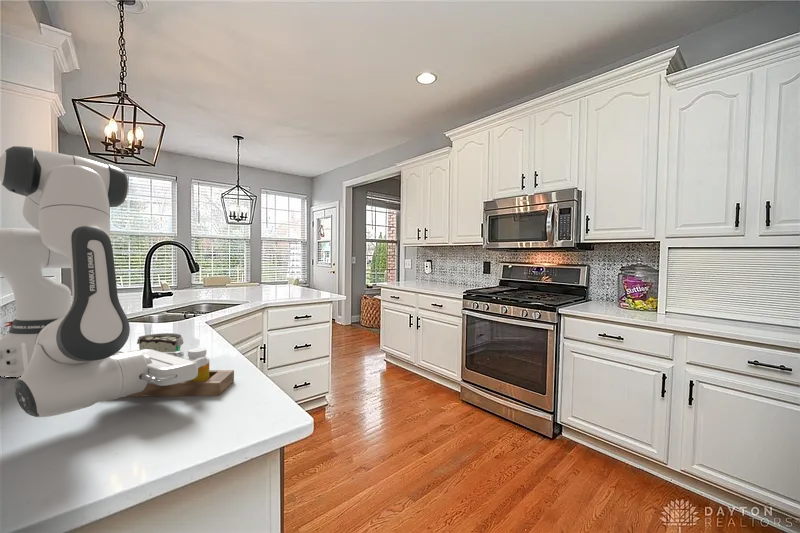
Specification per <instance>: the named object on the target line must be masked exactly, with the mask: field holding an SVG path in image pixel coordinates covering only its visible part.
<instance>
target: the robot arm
mask: <svg viewBox="0 0 800 533" xmlns="http://www.w3.org/2000/svg"><path fill="white" fill-rule="evenodd" d="M0 181H1V185H2V186H3V187H4V188H5V189H6V190H7V191H9V192H11V193H13V194H18V195H20V196H23V197H24V196H25V197H24V202H23V205H22V216H23V218H24V219H25V221H26V222H27V223H28V224H29V225H31V226H32V227H33V228H26V227H10V226H9V227H0V276H2V278H4V279H5V280H6V282H8V284H9V285H10V287H11V289H12V292H13V296H14V303H15V304H14V305H15V318H14V319H13V320H12V321H7V322H4V323H3V324H5V325H4V327H5V328H6V327H10V328H9V329H8V331H7V332H8V333H6V334H5V335H3V336H1V337H0V376H9V377H16V378H18V379H16V381H15V385H14V389H15V391H14V393H15V398H16V400H17V403H18V405H19V406H20V408H21V409H22V410H23V411H24V413H26V414H28V415H29V416H31V417H35V418H47V417H54V416H55V417H56V416H59V415H63V414H67V413H72V412H76V411H79V410H82V409H86V408H88V407H92V406H93V405H95V404H97V403H100V402H102V401H114V400H117V399H121V398H124V397H128V396H127V395H131V394H134V393H138V392H141V391H143V390H144V389H145V387H146V385H147V384H148V383H153V384H156V385H159V386H166V385H172V384H177V383H181V382H185V381H189V380H192V379H195V378H196V377H197V376H198V368H199V367H201V366H205V365H206V364H207V358H204V357H200V358H196V360H194V361H192V360H188V358H184V356H185V354H184V351H182V350H180V351H176V352H159V351H155V350H152V349H143V350H140V349H138V350H130V351H129V350H128V351H120V350H121V349H122V348H124V346H125V344H126V343H127V341H128V339H129V336H130V333H131V332H130V330H131V328H130V327H131V326H130V321H129V319H128V317H127V314H126V313H125V311H124V310H123V307H122V306H121V303H120V300H119V296H118V286H117V285H118V284H117V276H116V267H115V257H114V250H113V246H112V241H111V211H110V210H111V209H110V208H116V207H119V206H121V205H122V204H124V202H125V200H126V199H127V196H128V194H129V192H130V185H129V180H128V175H127V174H126V173H125V172H124V170H122V169H121V168H119V167H116V166H114V165H112V164H109V163H107V164H105V163H101V162H98V161H95V160H92V159H88V158H84V157H81V156H78V155H73V154H72V155H69V154H65V153H60V152H54V151H49V150H48V151H47V150H40V149H34V148H33V147H31V146H19V145H18V146H11V147H8V148H6V149H5V151H4V153H2V155H1V156H0ZM43 269H70V274H71V276H70V278H71V289H70V288H69V286H68V285H66V284H64V283H61V282H59V281H56V280H54V279H49V278H47V277H45V276H44V275H43V271H42V270H43ZM20 376H21V377H20Z"/></svg>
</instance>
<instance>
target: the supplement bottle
mask: <svg viewBox="0 0 800 533" xmlns="http://www.w3.org/2000/svg"><path fill="white" fill-rule="evenodd" d="M206 355H207V348H205V347H196V348H190V349H188V351H187V357H188V358H187V359H188V360H192V361H194V360H196V358H200V357H204V358H207V364H206V365H205V366H201V367H199V368H198V376H197V377H196V378H195V379H192V380H189V381H207V380H209V370H210V358H209V357H208V356H206Z"/></svg>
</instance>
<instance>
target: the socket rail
mask: <svg viewBox="0 0 800 533" xmlns="http://www.w3.org/2000/svg"><path fill="white" fill-rule="evenodd" d="M233 381H234V382H235V370H234V369H209V380H207V381H185V382H181V383H177V384H172V385H166V386H159V385H156V384H153V383H148V384H147V385H146V387H145V389H144V390H143V391H141V392H138V393H134V394H131V395H127V396H126V397H186V396H187V397H188V396H189V397H190V396H191V397H193V396H194V397H196V396H197V397H199V396H200V397H201V396H206V397H207V396H210V397H211V396H212V397H213V396H221V394H223V392H225V390H227V388H229V387H230V386H231V385H232V384H233V383H234V382H233ZM232 382H233V383H232ZM231 383H232V384H231ZM230 384H231V385H230ZM229 385H230V386H229ZM228 386H229V387H228Z"/></svg>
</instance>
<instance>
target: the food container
mask: <svg viewBox="0 0 800 533" xmlns="http://www.w3.org/2000/svg"><path fill="white" fill-rule="evenodd" d="M183 344H184V339H183V337H182V335H181V334H179V333H171V332H169V333H168V332H165V333H162V332H161V333H152V334H145V335H140V336H138V338H137V343H136V345H138V346H139V347H138V348H139V349H138V350H143V349H152V350H155V351H159V352H176V351H181V347H182V345H183Z"/></svg>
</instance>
